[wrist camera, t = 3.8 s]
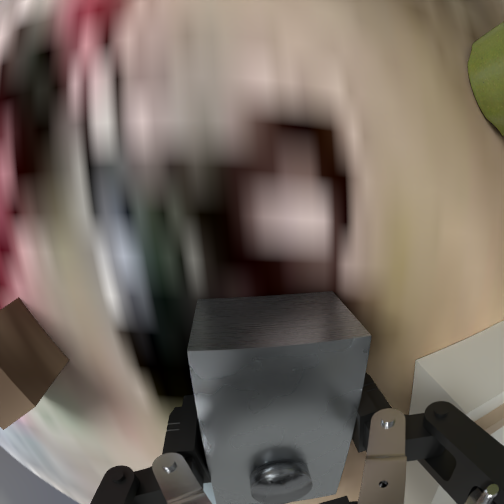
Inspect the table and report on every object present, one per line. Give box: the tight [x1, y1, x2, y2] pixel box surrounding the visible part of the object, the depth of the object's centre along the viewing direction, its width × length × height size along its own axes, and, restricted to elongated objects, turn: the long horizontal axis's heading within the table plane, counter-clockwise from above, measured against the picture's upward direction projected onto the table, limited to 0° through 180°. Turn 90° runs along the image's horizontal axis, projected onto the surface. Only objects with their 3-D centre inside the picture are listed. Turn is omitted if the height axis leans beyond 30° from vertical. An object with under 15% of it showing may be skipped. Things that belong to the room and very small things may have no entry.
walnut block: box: [0, 298, 69, 430], centre depth 11 cm, size 4×4×4 cm
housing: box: [187, 291, 371, 504], centre depth 11 cm, size 9×6×5 cm, turn 2°
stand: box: [404, 320, 504, 504], centre depth 14 cm, size 14×12×6 cm
